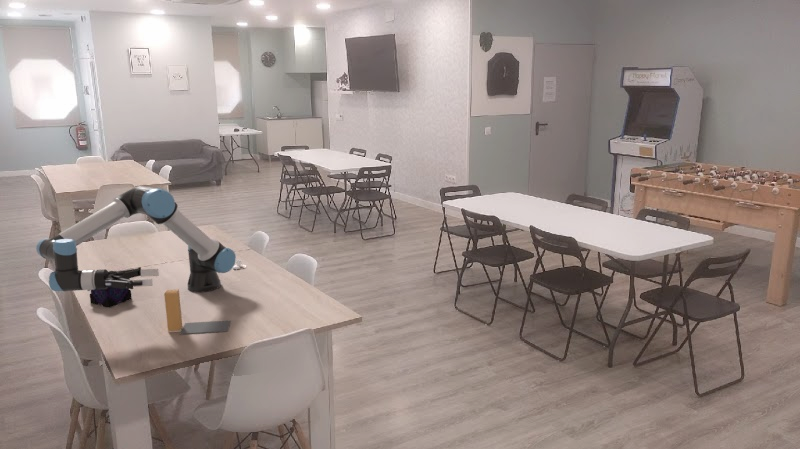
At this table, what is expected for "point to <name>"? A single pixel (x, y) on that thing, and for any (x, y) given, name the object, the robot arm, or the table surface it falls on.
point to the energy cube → (110, 296)
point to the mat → (205, 327)
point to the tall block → (173, 310)
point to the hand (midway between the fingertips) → (155, 277)
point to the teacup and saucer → (238, 265)
